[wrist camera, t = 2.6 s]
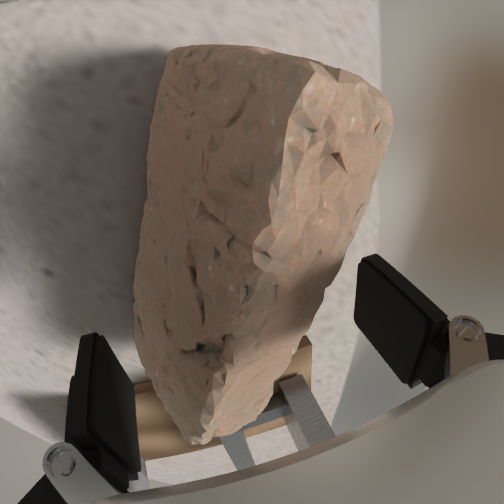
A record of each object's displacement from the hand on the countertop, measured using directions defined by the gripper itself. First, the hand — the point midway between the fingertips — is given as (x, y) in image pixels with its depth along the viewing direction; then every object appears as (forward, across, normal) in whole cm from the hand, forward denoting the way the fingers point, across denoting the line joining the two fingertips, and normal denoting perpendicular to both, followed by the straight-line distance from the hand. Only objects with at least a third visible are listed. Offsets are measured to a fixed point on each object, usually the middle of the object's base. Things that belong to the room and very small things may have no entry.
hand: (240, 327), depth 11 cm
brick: (+8, 0, -1) cm, 8 cm away
